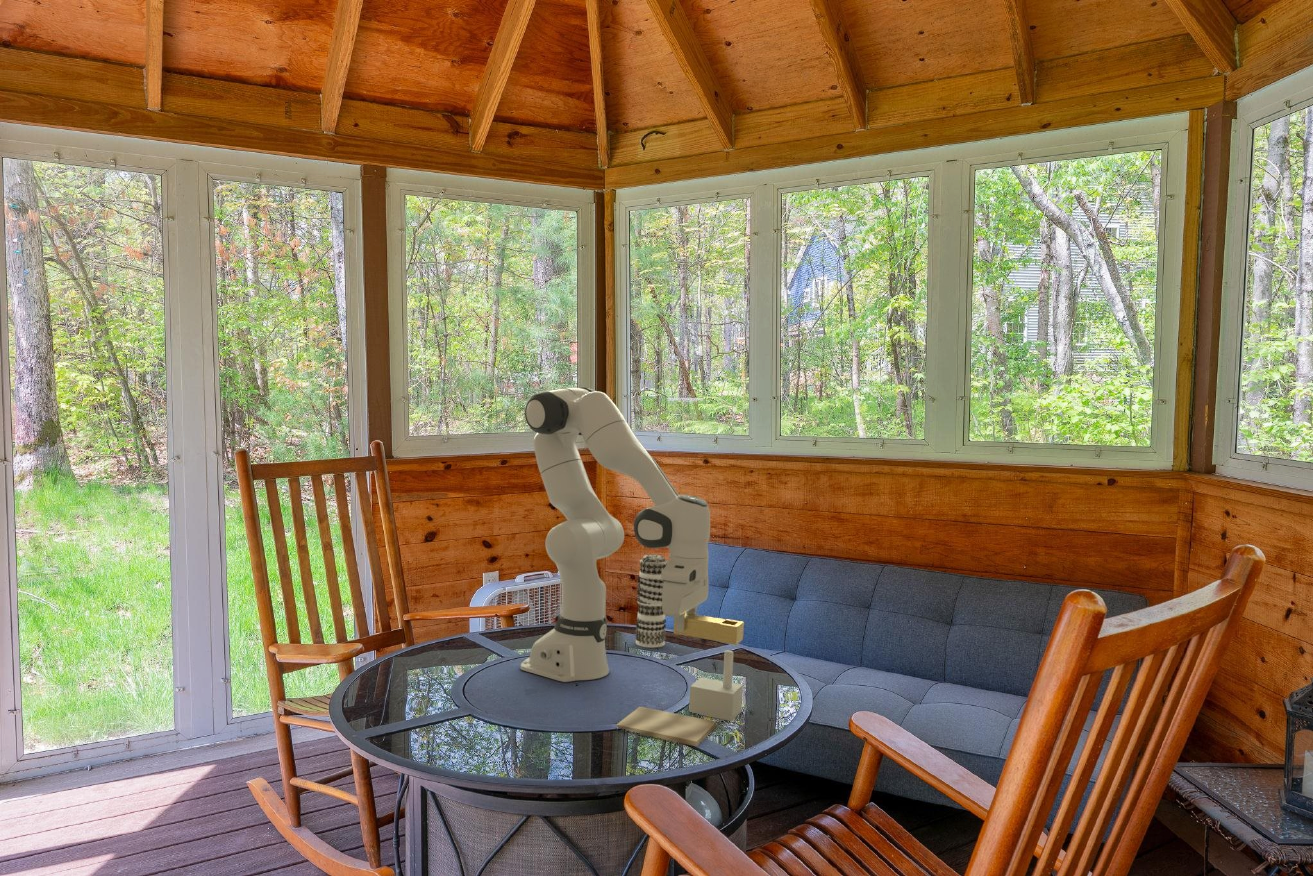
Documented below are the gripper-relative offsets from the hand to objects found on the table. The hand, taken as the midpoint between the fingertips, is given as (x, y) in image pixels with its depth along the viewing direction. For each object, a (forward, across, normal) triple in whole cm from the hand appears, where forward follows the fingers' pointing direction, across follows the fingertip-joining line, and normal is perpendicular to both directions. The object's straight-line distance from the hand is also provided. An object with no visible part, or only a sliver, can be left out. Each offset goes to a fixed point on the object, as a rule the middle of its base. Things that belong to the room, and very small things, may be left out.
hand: (685, 627), depth 193 cm
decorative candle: (+18, -41, -26) cm, 52 cm away
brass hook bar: (+1, 0, +5) cm, 6 cm away
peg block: (+18, 0, +8) cm, 20 cm away
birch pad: (+18, +14, +2) cm, 23 cm away
